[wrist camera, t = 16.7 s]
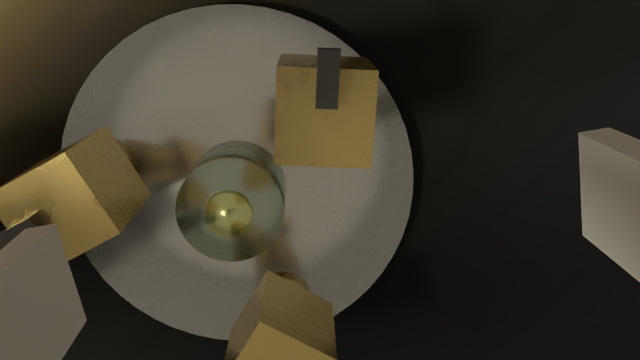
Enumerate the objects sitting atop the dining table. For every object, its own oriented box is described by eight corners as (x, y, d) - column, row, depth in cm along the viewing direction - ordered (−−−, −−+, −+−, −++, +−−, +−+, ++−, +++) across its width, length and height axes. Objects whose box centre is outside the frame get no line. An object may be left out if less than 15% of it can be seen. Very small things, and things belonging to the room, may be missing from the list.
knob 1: (119, 116, 36) (57, 156, 27) (161, 180, 37) (115, 239, 28) (43, 158, 36) (-42, 211, 27) (86, 220, 38) (19, 290, 29)
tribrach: (154, 369, 43) (129, 431, 37) (4, 77, 36) (-56, 94, 30) (450, 273, 41) (475, 321, 35) (346, -52, 34) (355, -61, 28)
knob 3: (236, 307, 40) (215, 398, 31) (269, 252, 39) (258, 329, 30) (307, 343, 41) (308, 441, 32) (342, 290, 39) (352, 376, 31)
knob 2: (357, 129, 36) (373, 173, 27) (281, 126, 36) (273, 170, 27) (363, 37, 35) (382, 51, 26) (283, 33, 34) (275, 46, 26)
